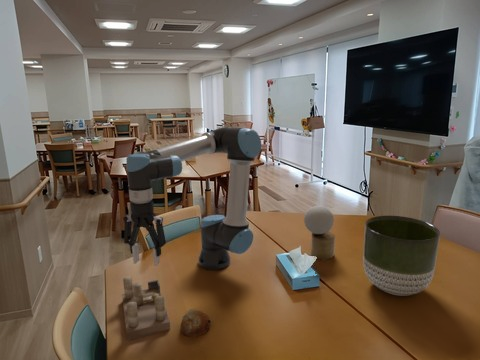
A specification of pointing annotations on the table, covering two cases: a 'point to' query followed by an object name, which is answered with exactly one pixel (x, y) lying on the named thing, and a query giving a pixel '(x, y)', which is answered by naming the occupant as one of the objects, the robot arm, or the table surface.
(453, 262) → the table surface
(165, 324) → the peg board
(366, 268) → the planter
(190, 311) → the bread roll
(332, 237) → the lamp
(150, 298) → the hinged leg
